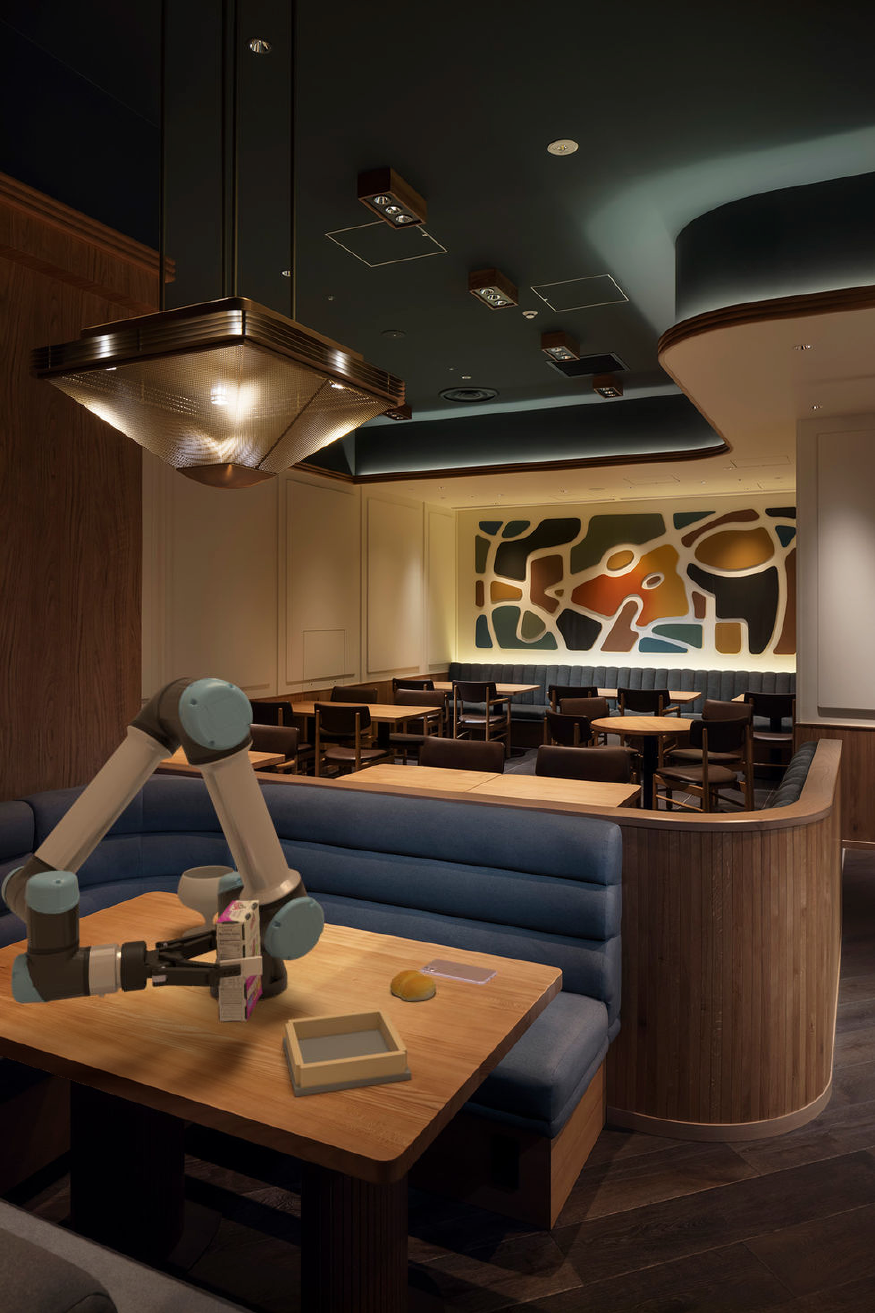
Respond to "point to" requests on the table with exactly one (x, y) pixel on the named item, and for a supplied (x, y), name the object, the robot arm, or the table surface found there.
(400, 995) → the bread roll
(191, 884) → the chalice
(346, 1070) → the shallow square tray
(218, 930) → the candy bar box
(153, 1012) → the table surface
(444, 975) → the mobile phone
